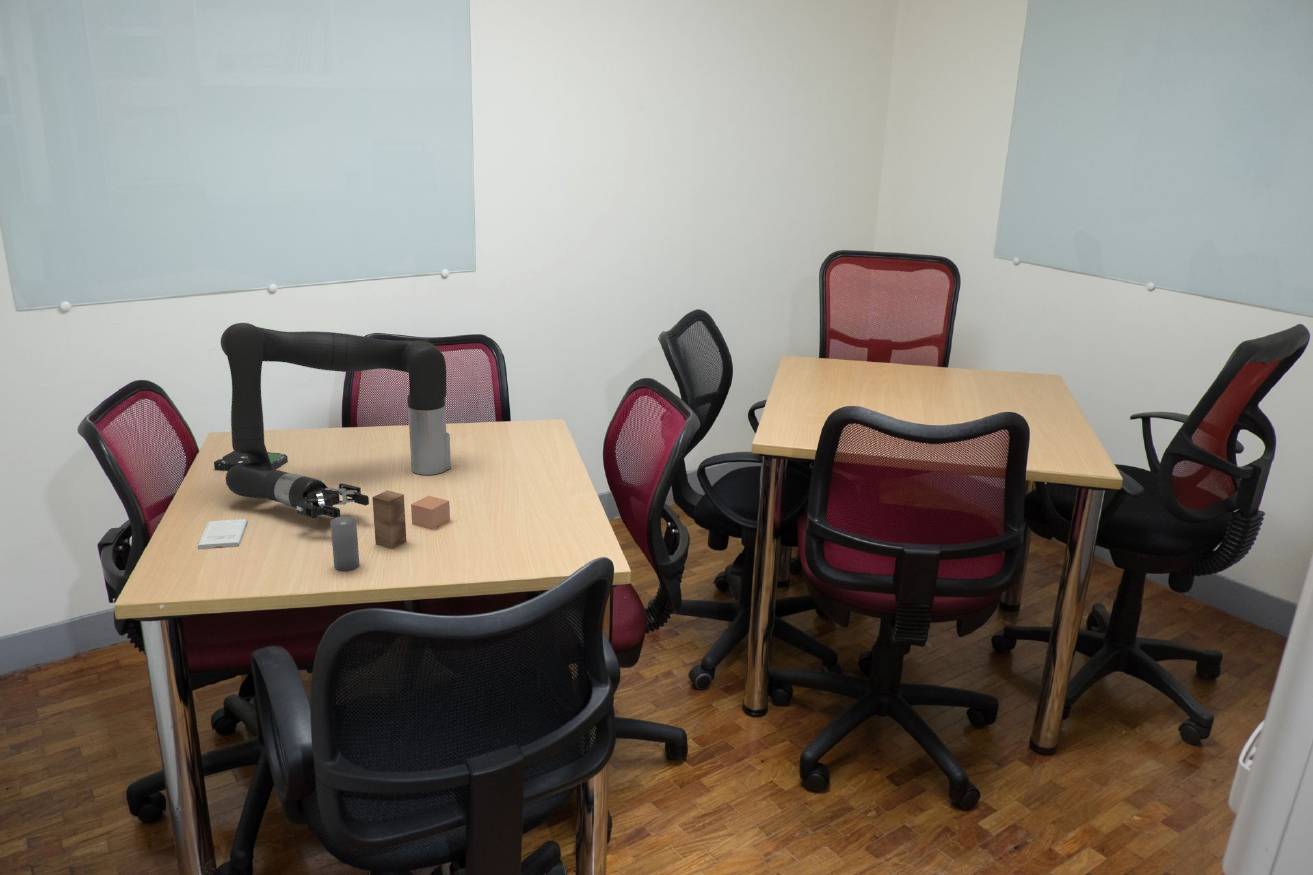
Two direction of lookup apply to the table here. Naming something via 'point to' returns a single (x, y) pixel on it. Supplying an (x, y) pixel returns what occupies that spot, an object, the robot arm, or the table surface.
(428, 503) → the terracotta block
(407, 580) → the table surface
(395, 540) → the walnut column
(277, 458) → the disk drive
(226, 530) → the external hard drive
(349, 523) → the charcoal cylinder
